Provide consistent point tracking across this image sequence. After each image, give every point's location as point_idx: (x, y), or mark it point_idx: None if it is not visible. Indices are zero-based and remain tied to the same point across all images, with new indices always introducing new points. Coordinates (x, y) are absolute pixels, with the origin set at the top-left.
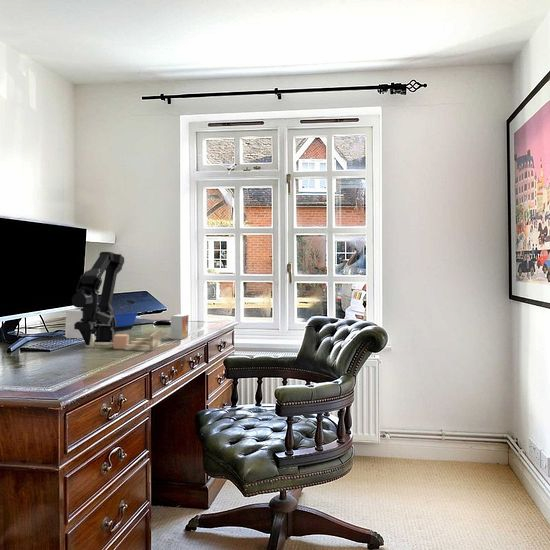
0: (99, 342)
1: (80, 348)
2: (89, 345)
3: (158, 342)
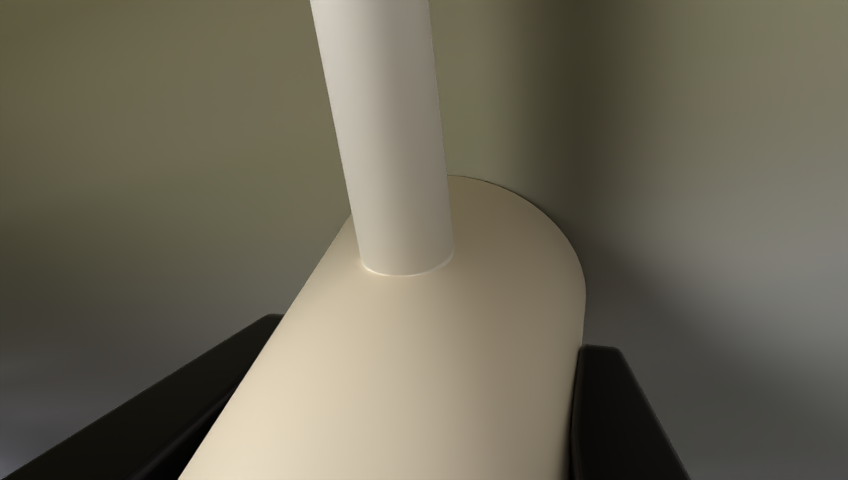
0: (380, 32)
1: (725, 460)
2: (578, 325)
3: None
